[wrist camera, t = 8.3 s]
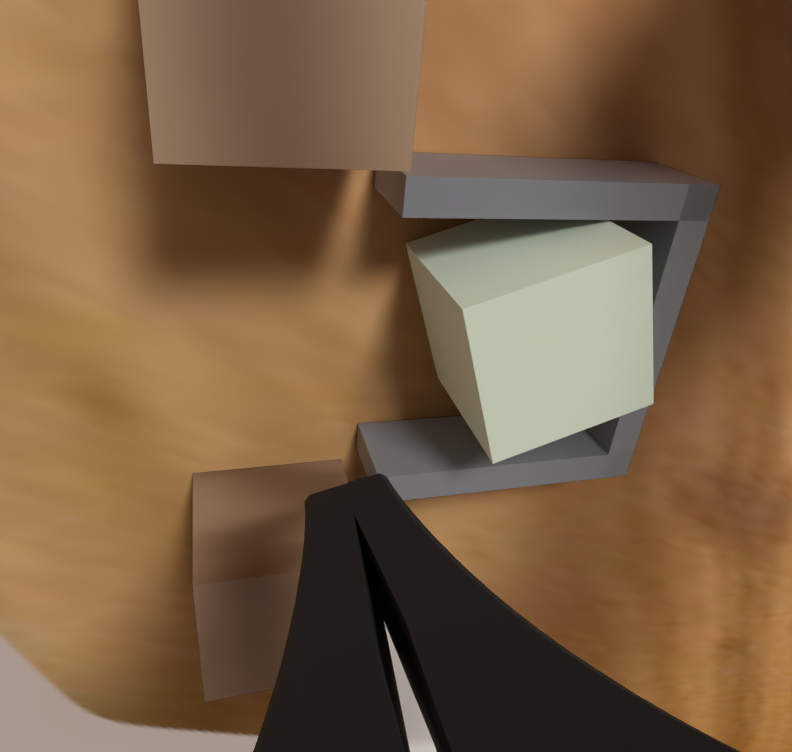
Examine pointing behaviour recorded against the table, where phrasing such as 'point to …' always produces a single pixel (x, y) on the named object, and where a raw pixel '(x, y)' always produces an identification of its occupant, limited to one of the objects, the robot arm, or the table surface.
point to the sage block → (537, 325)
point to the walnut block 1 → (283, 82)
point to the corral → (540, 199)
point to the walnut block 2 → (249, 568)
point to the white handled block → (410, 708)
